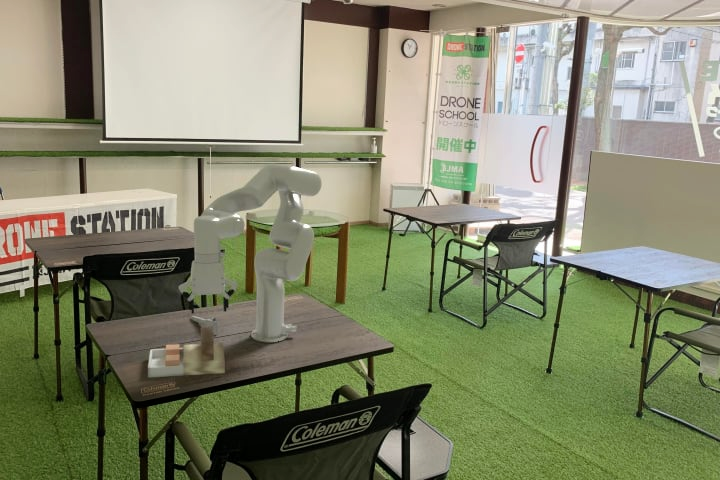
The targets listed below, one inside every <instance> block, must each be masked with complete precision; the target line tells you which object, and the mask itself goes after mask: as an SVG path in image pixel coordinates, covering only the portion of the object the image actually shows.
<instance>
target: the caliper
mask: <svg viewBox="0 0 720 480" xmlns="http://www.w3.org/2000/svg"><path fill="white" fill-rule="evenodd" d="M190 319H191V320H192V321H194V322H196V323H200V324H203V325H205V327H212V330H213V336H218V322H217V319H216V317H211V318H207V319H205V318H203V317H199V316H195V315H193V316H191V317H190Z"/></svg>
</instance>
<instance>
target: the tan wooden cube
mask: <svg viewBox="0 0 720 480" xmlns="http://www.w3.org/2000/svg"><path fill="white" fill-rule="evenodd" d="M178 365H180V355H166V359H165V366H178Z"/></svg>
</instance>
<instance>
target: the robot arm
mask: <svg viewBox="0 0 720 480" xmlns="http://www.w3.org/2000/svg"><path fill="white" fill-rule="evenodd" d="M322 184H323V183H322V178H321V176H320V175H319V174H318V173H317V172H316V171H313V170H309V169H305V168H300V167H297V166H293V165H288V164H280V163H269V164H266V165H265V166H263V167H262V168H261V169H260V170H259V171H258V172H257V173H256V174H255V175H254V176H253V177H252V178H250V180H249V181H248V182H247V183H246V184H245V185H244V186H242V187H240V188H237V189H235V190H233V191H230V192H228V193H225V194H223V195H220V196H219V197H217V198H216V199H214V201H213V202H211V203H210V204H209V205H208V206H207V207H206V208H205V209H204V210H203V212H202V213H201V215H200V216H197V217H196V218H195V219H194V220H193V238H194V239H193V245H194V249H193V250H194V260H192V262H191V268H190V279H189V280H188V281H186V282H183V283H182V284H179V286H178V290H179V292H180V293H181V295H182V296H183V298H185V299H187V301H188V311H191V314H194V313H195V306H194V305H195V302H194V300H195V299H194V298H195V297H196V296H204V295H207V296H208V295H219V294H220V295H222V296H223V298H222V300H223V303H222V304H223V311H224V312H226V313H227V309H228V308H230V307H229V299H230V297H232V295H233V294H235V291H236V290H237V288H238V286H239V285H238V283H237V282H235V281H233V280H232V279H231V280H230V279H229V278H227V277H226V271H225V265H224V263H225V262H224V260H223V259H224V258H226V252H222V251H221V240H222V239H233V238H237V237H239V236H240V235H241V234H242V233H243V231H244V229H245V221H244V218H243V217H242V216H241V215H240V214H237V213H238V212H245V211H252V210H256V209H259V208H261V207H263V206H264V205H265V203H266V202H267V201H268V200H269V199H270V198H271V197H273V195H274V194H276V192H277V191H278V195H279V202H280V203H279V208H278V211H277V214H276V216H275V219H274V221H273V224H272V225H271V226H272V227H271V228H270V231H269V237H268V238H269V242H270V243H271V244H272V245H275V246H276V247H280V248H284V249H289V251H287V250H282V249H278V248H274V247H273V248H272V247H264V248H262V249H259V250H258V251H257V253H256V254H255V255H254V256H255V257H254V260H253V261H254V271H255V275H256V276H255V277H256V308H255V309H256V312H255V313H256V314H255V317H256V318H255V320H256V321H255V329H253V330H252V331H251V335H250V336H251V338H252V339H253V340H255V341H257V342H262V343H278V341H279V342H282V341H285V340H287V338H288V332H298V331H297V329H298V327H297V325H293V324H290V323H289V324H285V322H284V320H285V319H284V315H285V313H284V312H285V284H284V281H289V282H294V281H297V280H298V279H299V278H300V277H301V276H302V275H303V272H304V270H305V266H306V264H307V262H308V259H309V256H310V254H311V251H312V248H313V245H314V242H315V232H314V230H313V227H311V225H309V224H307V223H303V222H301V221H302V217H303V214H304V211H305V210H304V204H303V201H302V198H301V196H305V197H314V196H316V195H318V194H319V193H320V191H321V189H322V186H323V185H322ZM222 258H223V259H222ZM226 285H228V286H230V289H229V290H228V291H227V290H226ZM188 287H190V289H191V291H190V292H188V291H187V290H186V288H188Z"/></svg>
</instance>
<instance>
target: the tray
mask: <svg viewBox="0 0 720 480" xmlns="http://www.w3.org/2000/svg"><path fill="white" fill-rule="evenodd" d="M179 351H180V365H178V366H165V359H166V348H153V349H150V351H149V356H148V364H147V378H162V377H179V376H185V375H184V365H183V361H184V347H179Z"/></svg>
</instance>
